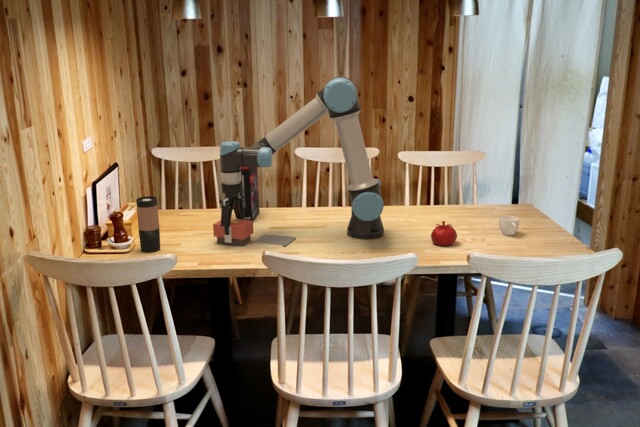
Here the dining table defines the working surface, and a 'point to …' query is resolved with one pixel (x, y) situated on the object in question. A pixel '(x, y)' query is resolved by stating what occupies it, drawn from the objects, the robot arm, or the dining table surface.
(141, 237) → the travel mug
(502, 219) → the cup
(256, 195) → the graphics card box
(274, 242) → the mat
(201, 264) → the dining table surface
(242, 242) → the lacquer box
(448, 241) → the pomegranate
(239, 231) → the lid
